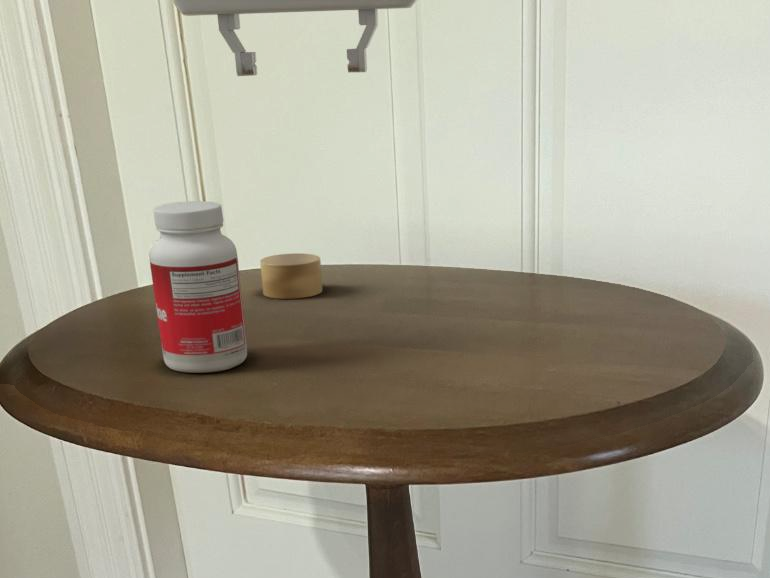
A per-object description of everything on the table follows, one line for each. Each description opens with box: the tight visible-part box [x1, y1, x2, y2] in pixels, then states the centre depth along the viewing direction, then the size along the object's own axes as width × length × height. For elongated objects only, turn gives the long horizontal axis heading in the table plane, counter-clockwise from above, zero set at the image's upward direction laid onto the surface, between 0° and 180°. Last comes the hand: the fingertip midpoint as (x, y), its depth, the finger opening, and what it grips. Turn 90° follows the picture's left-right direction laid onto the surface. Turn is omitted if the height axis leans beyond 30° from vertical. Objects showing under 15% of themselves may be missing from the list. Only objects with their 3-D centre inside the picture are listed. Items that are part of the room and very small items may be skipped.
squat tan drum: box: [259, 253, 323, 300], centre depth 100 cm, size 6×6×3 cm
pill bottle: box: [148, 200, 248, 374], centre depth 78 cm, size 6×6×11 cm
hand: (302, 74), depth 92 cm, fingers open, 8 cm apart
